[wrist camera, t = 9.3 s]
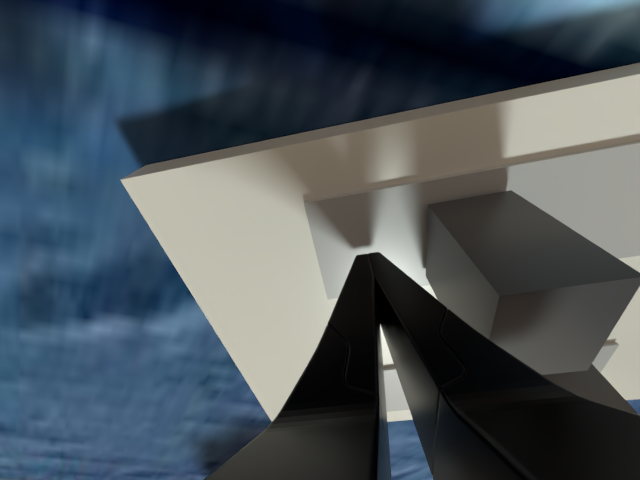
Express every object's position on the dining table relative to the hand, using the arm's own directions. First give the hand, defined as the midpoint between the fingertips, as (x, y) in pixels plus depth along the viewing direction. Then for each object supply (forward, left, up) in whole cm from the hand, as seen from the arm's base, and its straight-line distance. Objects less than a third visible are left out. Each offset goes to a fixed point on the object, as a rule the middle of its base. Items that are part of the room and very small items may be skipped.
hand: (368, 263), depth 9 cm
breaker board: (-5, +5, -2) cm, 7 cm away
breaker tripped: (-3, 0, -1) cm, 3 cm away
